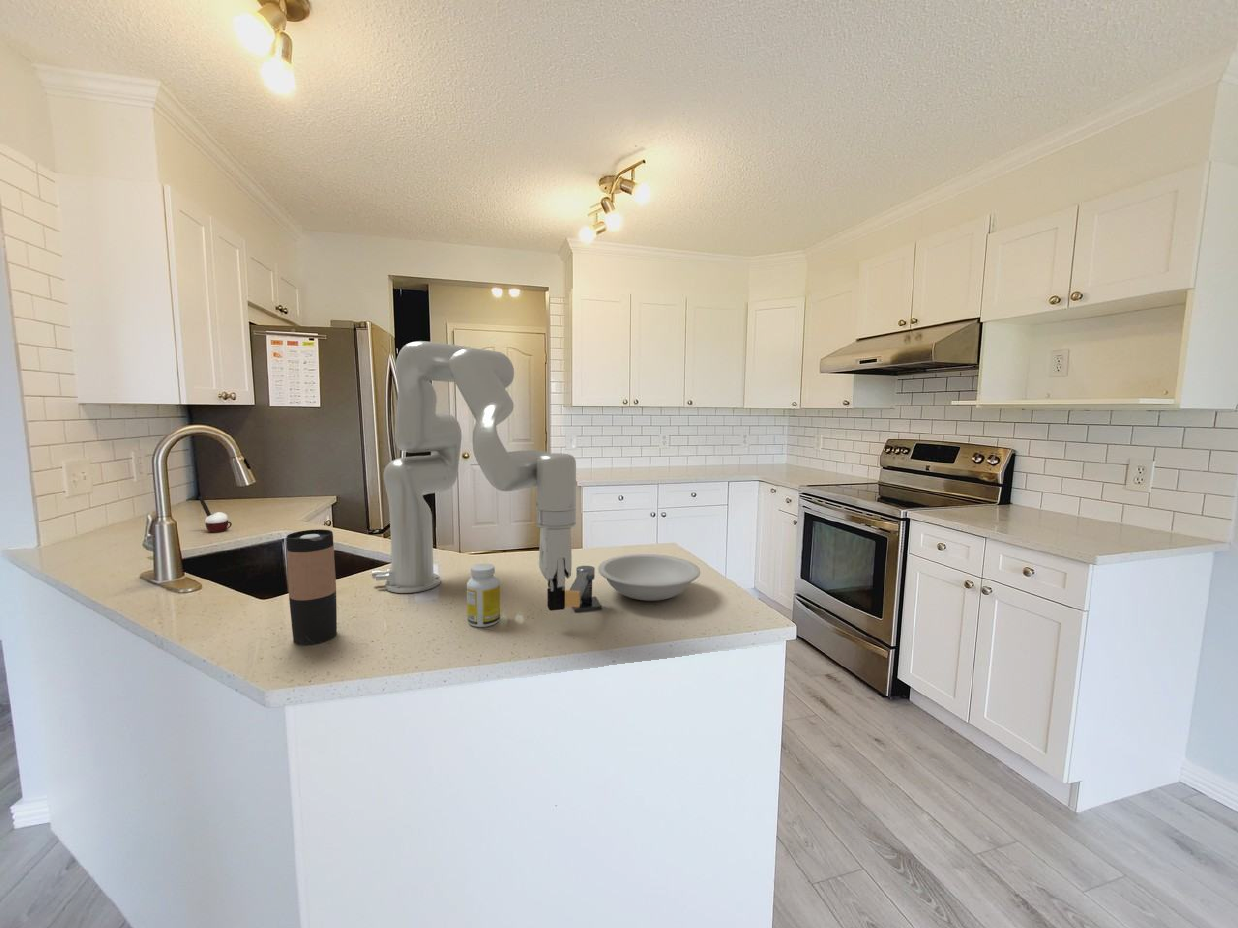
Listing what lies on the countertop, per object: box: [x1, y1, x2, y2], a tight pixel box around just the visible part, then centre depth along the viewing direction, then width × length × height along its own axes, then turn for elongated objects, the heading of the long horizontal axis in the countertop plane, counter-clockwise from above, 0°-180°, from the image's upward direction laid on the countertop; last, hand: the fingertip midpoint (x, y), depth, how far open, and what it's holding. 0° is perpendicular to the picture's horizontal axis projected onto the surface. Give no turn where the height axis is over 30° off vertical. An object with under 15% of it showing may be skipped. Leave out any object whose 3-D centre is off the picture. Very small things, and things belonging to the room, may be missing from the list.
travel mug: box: [285, 529, 338, 646], centre depth 97 cm, size 8×8×20 cm
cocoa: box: [198, 496, 233, 534], centre depth 177 cm, size 10×6×12 cm, turn 73°
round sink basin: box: [597, 553, 701, 602], centre depth 122 cm, size 24×24×7 cm
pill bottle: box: [466, 563, 501, 628], centre depth 105 cm, size 6×6×12 cm
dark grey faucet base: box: [571, 580, 603, 613], centre depth 114 cm, size 6×6×6 cm
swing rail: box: [565, 565, 596, 608], centre depth 107 cm, size 18×4×3 cm, turn 175°
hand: (556, 608), depth 102 cm, fingers closed
